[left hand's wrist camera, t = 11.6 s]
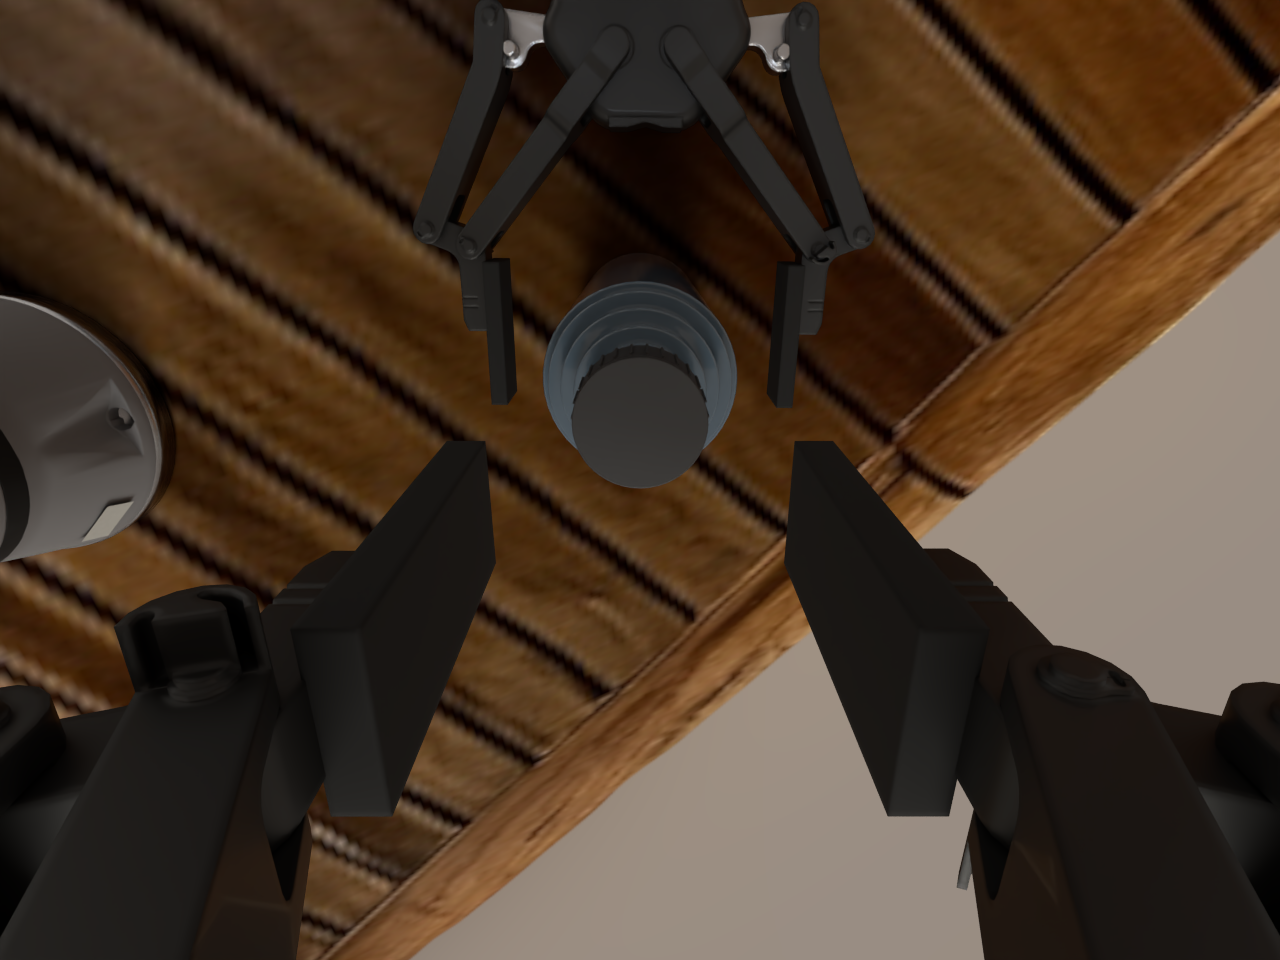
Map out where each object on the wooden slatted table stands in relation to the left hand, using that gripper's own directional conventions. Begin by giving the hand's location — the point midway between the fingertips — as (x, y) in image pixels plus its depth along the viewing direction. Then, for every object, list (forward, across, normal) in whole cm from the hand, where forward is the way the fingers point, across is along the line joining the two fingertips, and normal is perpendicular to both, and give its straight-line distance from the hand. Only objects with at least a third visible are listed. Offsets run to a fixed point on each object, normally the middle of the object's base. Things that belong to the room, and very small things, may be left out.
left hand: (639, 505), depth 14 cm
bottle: (+27, 0, 0) cm, 27 cm away
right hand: (+20, 0, -3) cm, 21 cm away
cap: (+6, 0, 0) cm, 6 cm away
